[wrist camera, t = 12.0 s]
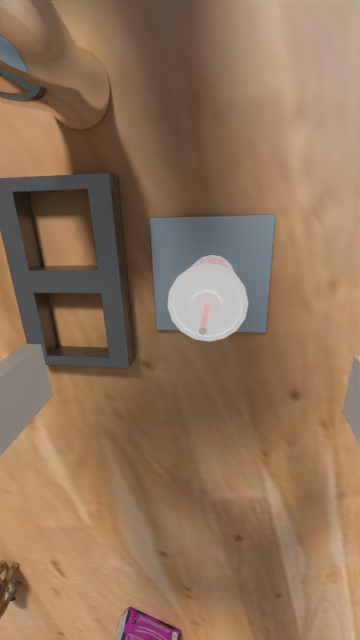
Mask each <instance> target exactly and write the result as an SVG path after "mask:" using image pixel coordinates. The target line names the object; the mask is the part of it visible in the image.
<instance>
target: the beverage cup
mask: <svg viewBox="0 0 360 640" xmlns="http://www.w3.org/2000/svg"><path fill="white" fill-rule="evenodd" d="M247 308H248V299H247V294H246V290H245V287H244V285H243V283H242V282H241V281H240V279H239V278H238V277H237V275H236V274H235V272H234V270H233V268H232V266H231V265H230V264H229V262H228V261H227V260H225V259H224V258H222V257H220V256H215V255H209V256H205V257H202V258H200V259H199V260H198V261H197V262H195V263H194V264H193V265H192V266H191V267H190V268H188V269H187V270H186V271H184V272H183V273H182V274H180V275H179V276H178V277H177V278H176V280H175V282H174V284H173V285H172V287H171V289H170V291H169V296H168V310H169V313H170V316H171V319H172V321H173V322H174V324H175V325H176V326H177V327H178V328H179V330H180V331H181V332H182V333H184V334H186V335H188V336H190V337H191V338H193V339H196V340H203V341H214V340H219V339H224V338H226V337H227V336H229V335H230V334H232V333H234V332H235V331H237V329H238V328H239V327H240V325H241V324H242V322H243V321H244V319H245V318H246V313H247Z"/></svg>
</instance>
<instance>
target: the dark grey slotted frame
mask: <svg viewBox="0 0 360 640" xmlns="http://www.w3.org/2000/svg"><path fill="white" fill-rule="evenodd" d="M76 190H88V196H89V204H90V212H91V219H92V227H93V235H94V242H95V250H96V258H97V266H42V261H41V256H40V251H39V246H38V241H37V236H36V231H35V226H34V220H33V215H32V210H31V205H30V200H29V195H28V192H52V191H76ZM0 231H1V235H2V239H3V244H4V248H5V252H6V256H7V261H8V265H9V269H10V273H11V278H12V282H13V286H14V290H15V294H16V299H17V303H18V307H19V311H20V316H21V320H22V324H23V328H24V332H25V337H26V341H27V344H41V347H42V351H43V355H44V360H45V364H46V365H67V366H88V367H110V368H130V366H131V365H132V363H133V361H134V359H135V349H134V338H133V328H132V317H131V306H130V296H129V285H128V275H127V264H126V254H125V243H124V232H123V222H122V211H121V201H120V190H119V180H118V175H115V174H111V173H98V174H78V175H57V176H37V177H16V178H0ZM48 293H101V296H102V304H103V312H104V320H105V327H106V335H107V343H108V348H94V347H68V346H58V343H57V338H56V333H55V328H54V322H53V317H52V312H51V307H50V302H49V297H48Z"/></svg>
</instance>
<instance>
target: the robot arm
mask: <svg viewBox="0 0 360 640" xmlns="http://www.w3.org/2000/svg"><path fill="white" fill-rule="evenodd" d="M52 396H53V394H52V390H51V386H50V381H49V377H48V373H47V368H46V364H45V360H44V355H43V351H42V347H41V344H24V345H23V346H22V347H20V348H19V349H18V350H16V351H15V352H14V353H12V354H11V355H9V356H8V357H7V358H5V359H4V360H3V361H1V362H0V456H1V455H2V454H3V453H4V452H5V450H6V449H7V448H8V447H9V446H10V445H11V443H12V442H13V441H14V440H15V439H16V438H17V436H18V435H19V434H20V433H21V432H22V431H23V429H24V428H25V427H26V426H27V425H28V424H29V423H30V421H31V420H32V419H33V418H34V417H35V416H36V414H37V413H38V412H39V411H40V410H41V409H42V407H43V406H44V405H45V404H46V403H47V402H48V400H49V399H50V398H51V397H52ZM342 413H343V415H344V417H345V419H346V421H347V422H348V424H349V426H350V428H351V430H352V432H353V433H354V435H355V437H356V439H357V441H358V443H359V444H360V355H354V359H353V364H352V369H351V374H350V378H349V383H348V388H347V393H346V397H345V402H344V407H343V412H342Z"/></svg>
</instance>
